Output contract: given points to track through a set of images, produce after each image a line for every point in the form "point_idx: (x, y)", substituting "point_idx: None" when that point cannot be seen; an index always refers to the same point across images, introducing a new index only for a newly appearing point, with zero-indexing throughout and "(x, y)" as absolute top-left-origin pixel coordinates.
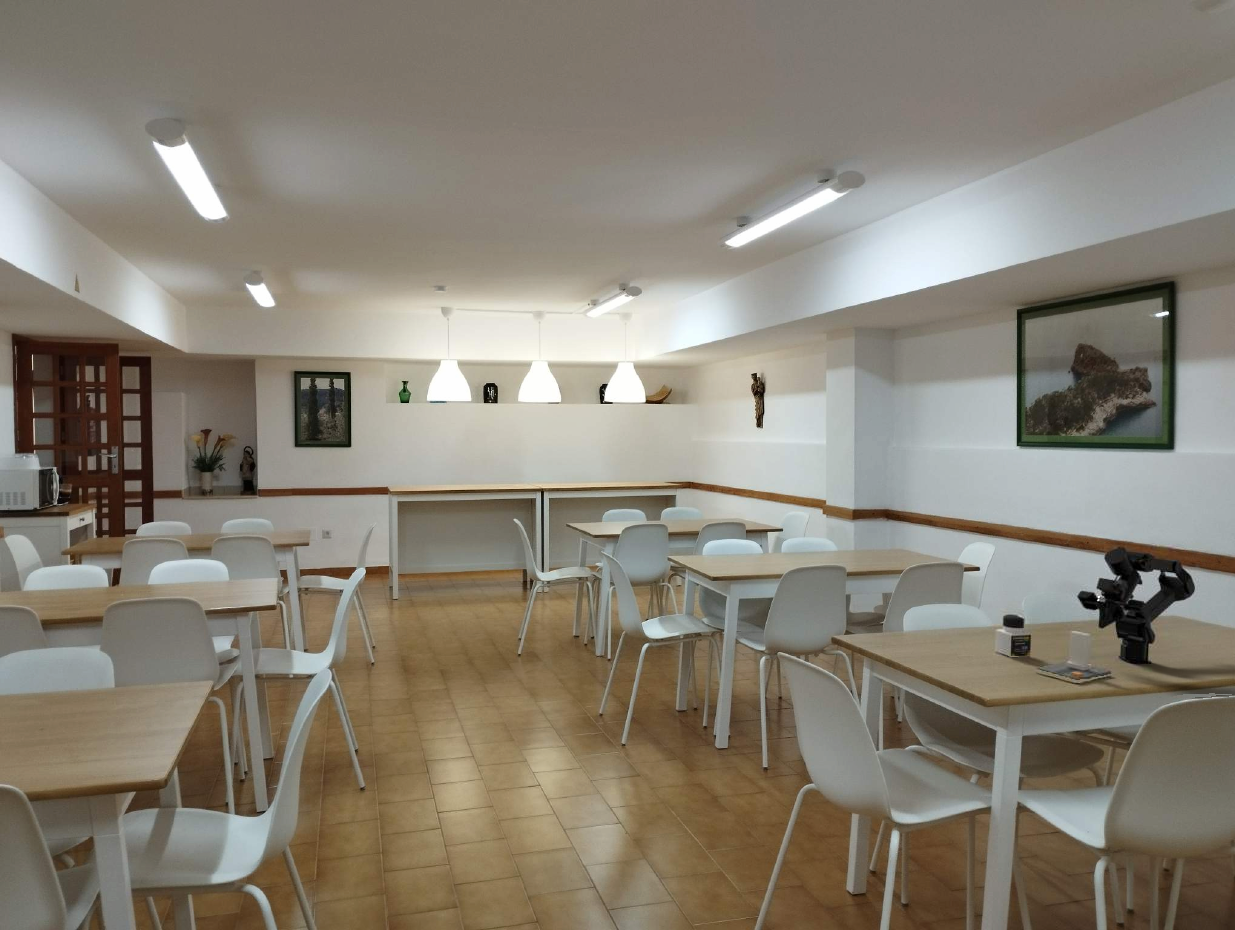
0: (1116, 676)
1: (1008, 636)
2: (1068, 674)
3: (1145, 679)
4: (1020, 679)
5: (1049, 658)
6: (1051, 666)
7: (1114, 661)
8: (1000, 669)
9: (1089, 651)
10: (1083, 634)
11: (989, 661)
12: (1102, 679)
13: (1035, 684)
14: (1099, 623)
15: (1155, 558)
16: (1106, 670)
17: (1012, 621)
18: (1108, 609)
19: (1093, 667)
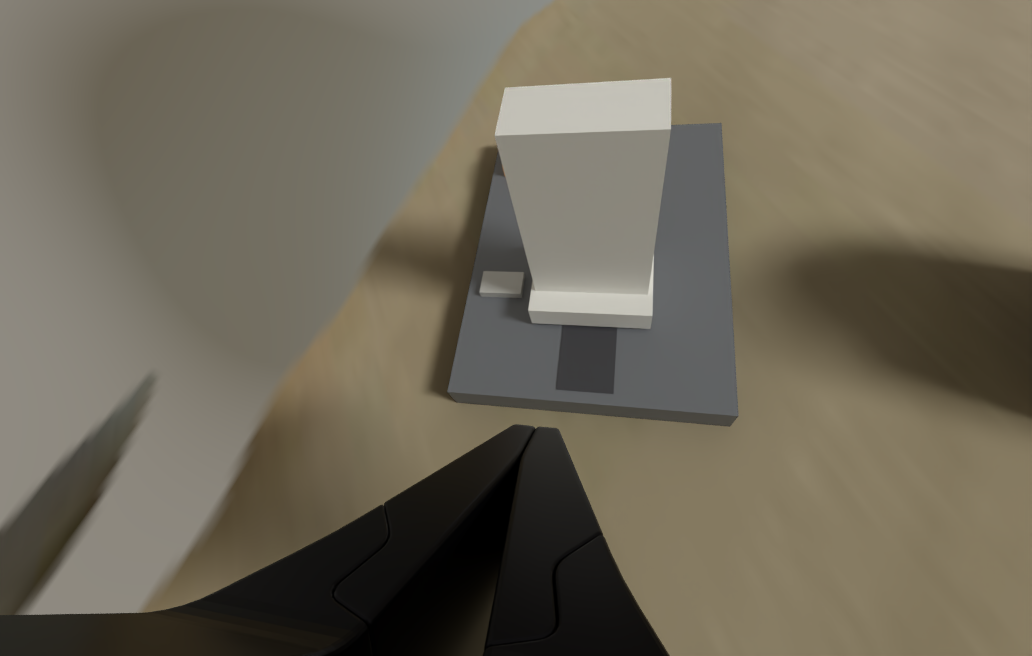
0: (434, 430)
1: None
2: None
3: (297, 512)
4: (683, 39)
5: (971, 516)
6: (701, 201)
7: None
8: (849, 71)
9: (521, 232)
10: (537, 92)
11: (1022, 125)
12: (464, 307)
13: (607, 38)
14: (549, 444)
15: None
16: (469, 379)
17: None
18: (318, 652)
19: (549, 379)
